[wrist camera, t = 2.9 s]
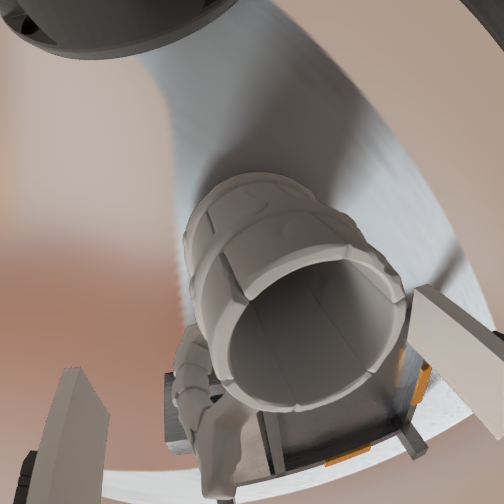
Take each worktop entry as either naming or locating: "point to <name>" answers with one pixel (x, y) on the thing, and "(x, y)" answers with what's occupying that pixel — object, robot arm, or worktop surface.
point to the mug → (275, 313)
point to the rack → (323, 421)
